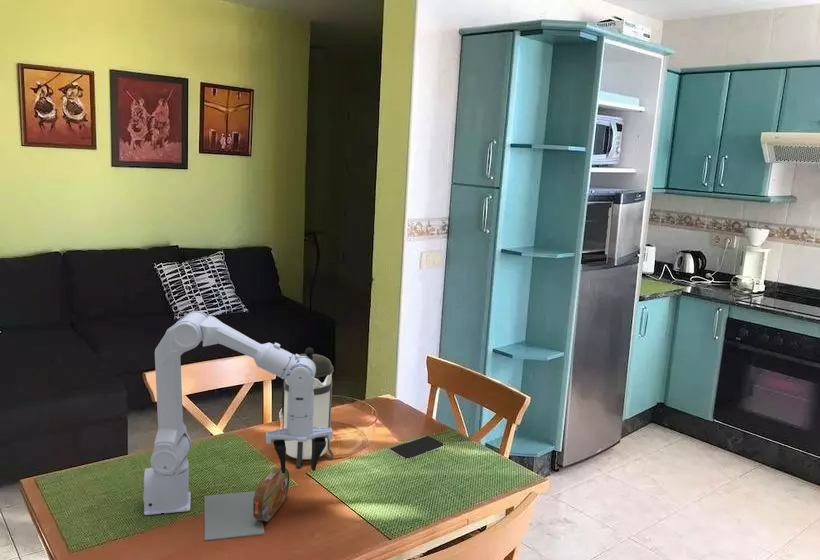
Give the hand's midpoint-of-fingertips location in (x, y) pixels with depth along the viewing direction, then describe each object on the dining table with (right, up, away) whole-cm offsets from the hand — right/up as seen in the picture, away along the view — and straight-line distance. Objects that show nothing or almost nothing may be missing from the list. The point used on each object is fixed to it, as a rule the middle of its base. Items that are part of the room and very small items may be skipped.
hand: (298, 470), depth 147 cm
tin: (-6, -9, 0) cm, 11 cm away
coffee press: (-4, -4, +29) cm, 29 cm away
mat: (-14, -9, -3) cm, 17 cm away
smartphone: (+27, -5, +37) cm, 46 cm away
